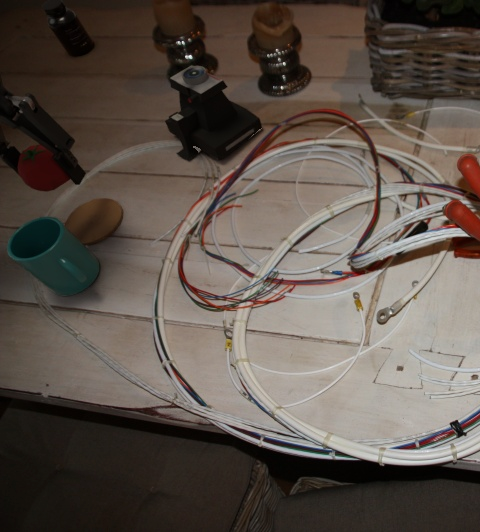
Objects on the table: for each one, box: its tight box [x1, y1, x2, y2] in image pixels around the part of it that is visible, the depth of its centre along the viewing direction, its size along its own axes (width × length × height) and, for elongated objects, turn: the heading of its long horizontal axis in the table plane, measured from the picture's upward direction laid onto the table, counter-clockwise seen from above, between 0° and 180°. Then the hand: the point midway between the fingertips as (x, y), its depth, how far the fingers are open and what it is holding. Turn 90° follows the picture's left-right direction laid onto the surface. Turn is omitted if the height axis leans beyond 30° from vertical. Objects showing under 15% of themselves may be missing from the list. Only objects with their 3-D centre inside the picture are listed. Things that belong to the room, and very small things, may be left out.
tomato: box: [17, 143, 71, 192], centre depth 91 cm, size 8×8×7 cm
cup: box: [6, 216, 100, 297], centre depth 91 cm, size 9×12×11 cm
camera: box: [164, 64, 263, 161], centre depth 109 cm, size 16×14×15 cm
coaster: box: [64, 197, 124, 246], centre depth 103 cm, size 11×11×1 cm
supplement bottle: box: [41, 0, 94, 57], centre depth 133 cm, size 7×7×12 cm
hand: (57, 179), depth 94 cm, fingers closed on tomato, 8 cm apart
